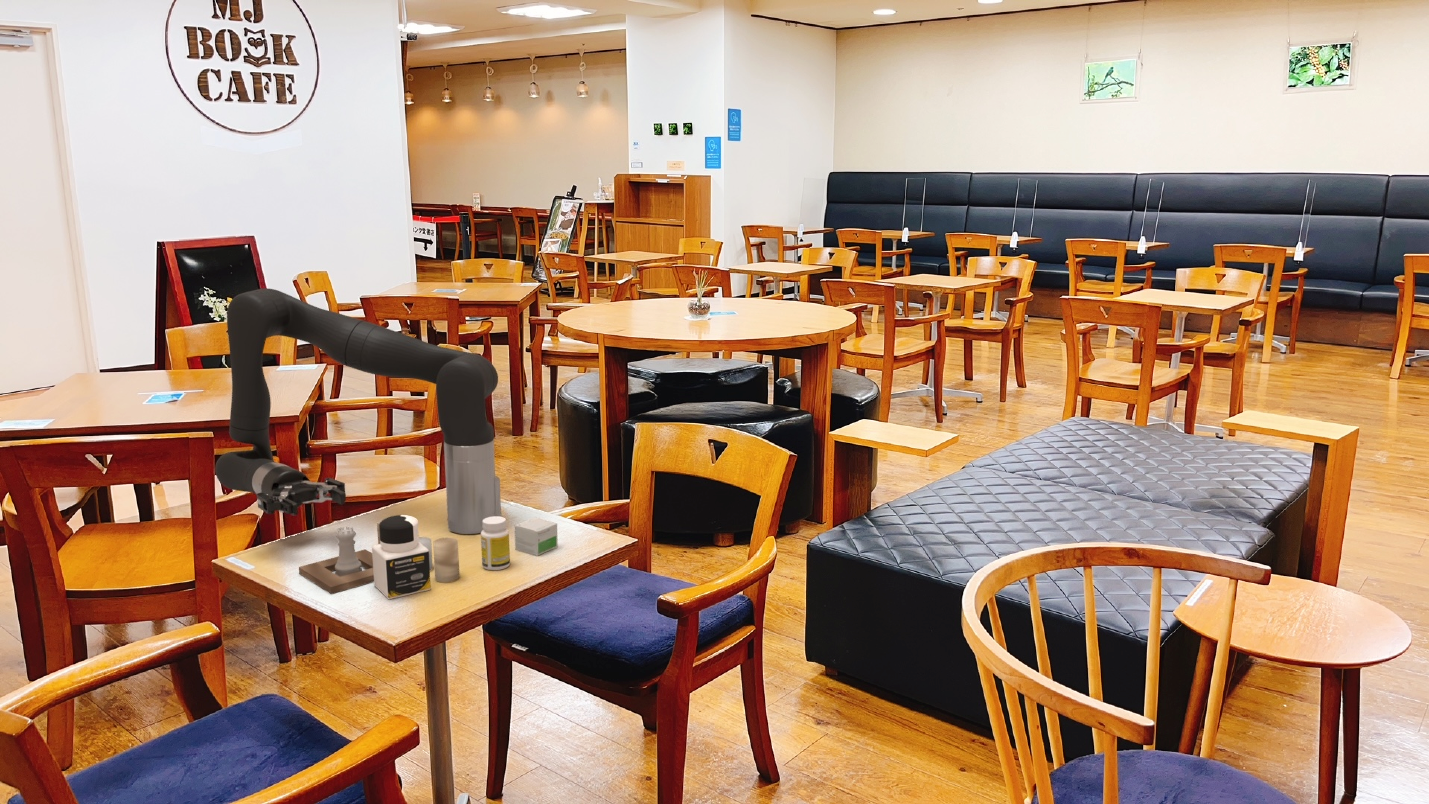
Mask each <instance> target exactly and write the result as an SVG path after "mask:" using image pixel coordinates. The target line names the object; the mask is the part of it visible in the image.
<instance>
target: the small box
mask: <svg viewBox="0 0 1429 804" xmlns="http://www.w3.org/2000/svg"><path fill="white" fill-rule="evenodd" d="M556 548H558V523H557V522H554V521H551V520H547V519H543V518H541V517H536V516H535V517H533V518H530V519H528V520H525V521H523V522H520V523H517V524H515V525H514V551H517V552H521V553H525V554H528V555H532V556H535V557H538V556H540V555H542V554H544V553H547V552H549V551H551V550H554V549H556Z"/></svg>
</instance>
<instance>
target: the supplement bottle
mask: <svg viewBox="0 0 1429 804" xmlns="http://www.w3.org/2000/svg"><path fill="white" fill-rule="evenodd" d="M482 527H483V529H484V530H482V532H481V533H480V545H481V566H482V568H483V569H484V570H489V571H499V570H503V569H504V570H505V569H506V568H508V567H509V566H510V565H511V556H510V554H511V553H510V550H511V549H510V533H509V532H510V531H509V529H507V519H506V518H505V517H503V516H501V517H500V516H493V517H488V518H485V519H483V526H482Z"/></svg>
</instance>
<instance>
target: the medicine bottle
mask: <svg viewBox="0 0 1429 804" xmlns="http://www.w3.org/2000/svg"><path fill="white" fill-rule="evenodd" d="M379 522H380V524H379V531H380V544H378V543H377V544H374V545H372V546H371V553H372V557H373V572H374V582H373V585H374V587H376V589H378V590H379V591H380V592H381V593H382V594H383V595H384V596H385V597H386V598H387V599H388V600H392V599H396V598H401V597H406V596H409V595H414V594H418V593H423V592H427V591H430V590H431V589H432V586H431V583H432V581H431V570H430V564H429V550H428V549H427V548H426V547H425V546H423V545H422V544H421V543H420V542H419V537H420V535H419V533H420V532H419V521H418V519H417V518H416V517H414V516H411V515H406V514H396V515H392V516H389V517H386V518H383V519H382V520H381V521H379Z"/></svg>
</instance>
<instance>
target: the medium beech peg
mask: <svg viewBox="0 0 1429 804" xmlns="http://www.w3.org/2000/svg"><path fill="white" fill-rule="evenodd" d="M432 545H433V547H432V549H433V564H434V565H433V566H434V567H433V568H434V580H435V581H436V582H437V583H444V584H445V583H446V584H448V583H449V584H450V583H453V582H456V581H458V580H459V579H460V578H461V576H460V560H459V559H460V558H459V557H460V555H459V540H458V539H457V538H455V537H440V538H436V539H435V540H433V542H432Z"/></svg>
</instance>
